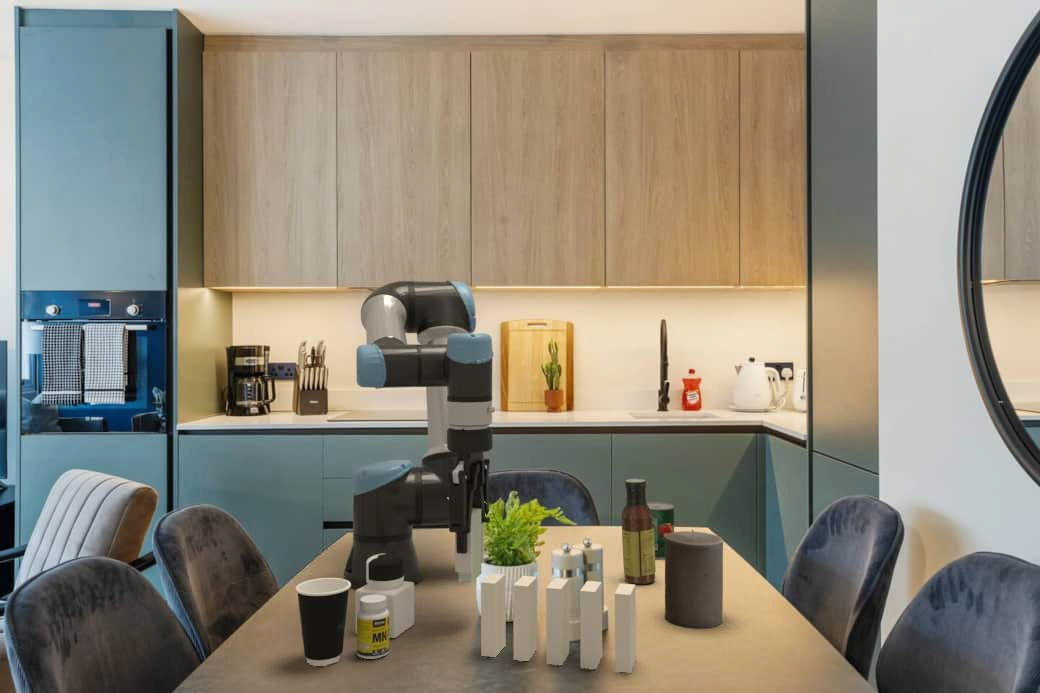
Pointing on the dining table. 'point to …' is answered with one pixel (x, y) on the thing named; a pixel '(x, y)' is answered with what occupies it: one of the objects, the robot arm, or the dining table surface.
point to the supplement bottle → (373, 627)
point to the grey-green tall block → (474, 548)
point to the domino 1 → (493, 615)
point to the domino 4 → (591, 624)
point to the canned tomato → (661, 525)
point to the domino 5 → (625, 628)
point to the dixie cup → (323, 618)
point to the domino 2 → (525, 618)
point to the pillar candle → (693, 579)
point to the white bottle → (389, 590)
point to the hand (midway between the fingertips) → (470, 566)
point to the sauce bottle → (638, 535)
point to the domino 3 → (557, 621)
